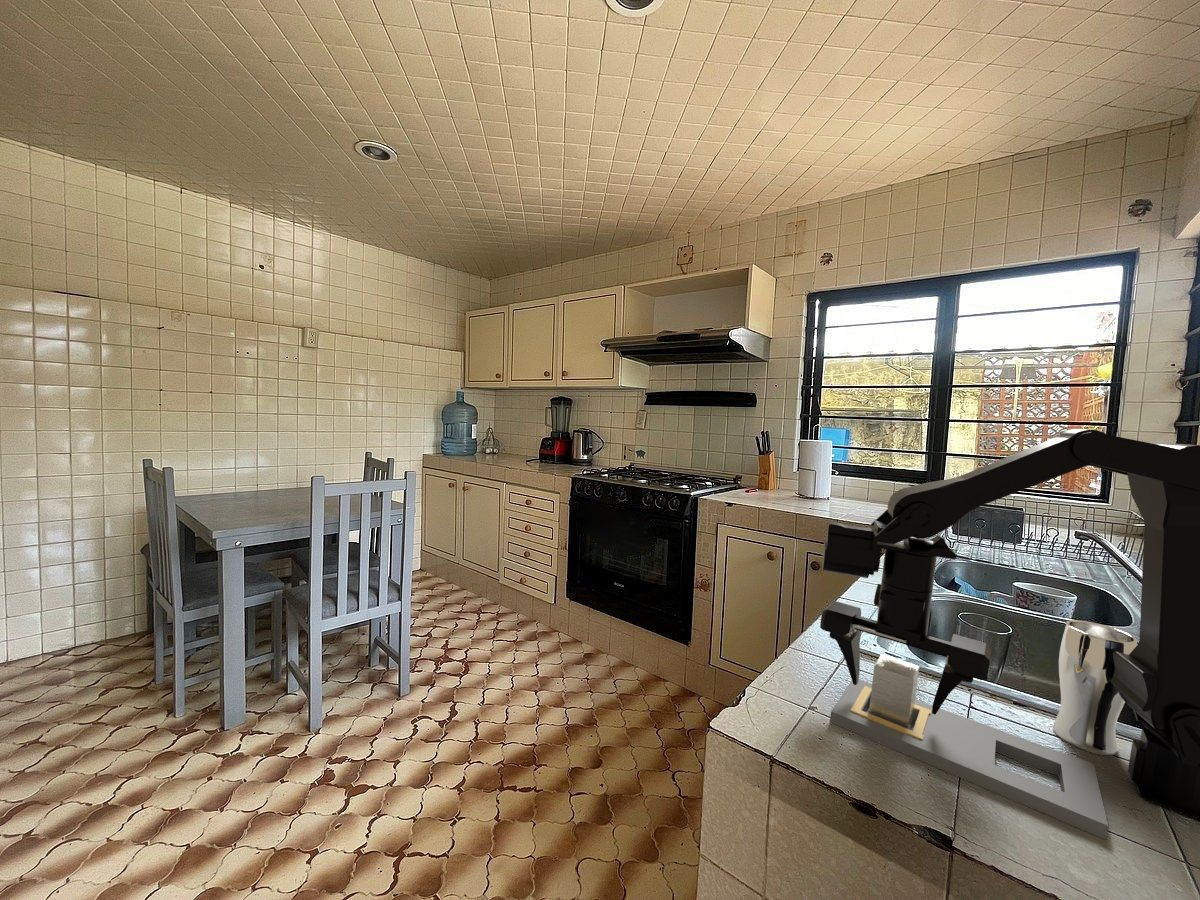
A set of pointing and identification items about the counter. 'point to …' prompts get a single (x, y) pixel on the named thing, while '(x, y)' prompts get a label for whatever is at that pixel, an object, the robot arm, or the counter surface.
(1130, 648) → the silver metal cylinder
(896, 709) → the peg
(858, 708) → the rail
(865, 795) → the counter surface
